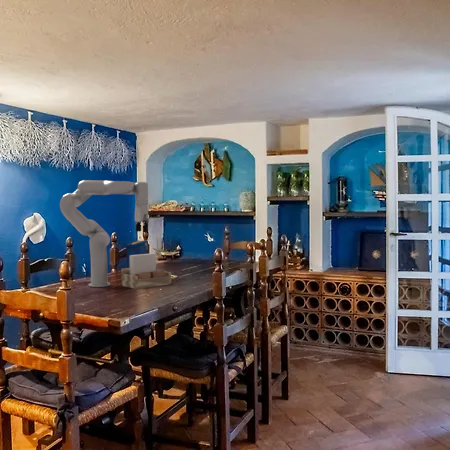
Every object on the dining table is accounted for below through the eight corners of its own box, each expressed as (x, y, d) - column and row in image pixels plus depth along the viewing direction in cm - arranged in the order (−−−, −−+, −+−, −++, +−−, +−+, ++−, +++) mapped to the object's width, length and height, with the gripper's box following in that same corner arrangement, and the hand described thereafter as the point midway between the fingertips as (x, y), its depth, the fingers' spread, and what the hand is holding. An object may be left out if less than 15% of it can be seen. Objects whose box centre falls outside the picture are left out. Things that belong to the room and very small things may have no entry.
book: (136, 283, 302) (135, 242, 301) (125, 283, 304) (124, 242, 302) (148, 277, 323) (148, 239, 322) (138, 277, 325) (138, 239, 324)
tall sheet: (129, 285, 295) (129, 255, 295) (152, 282, 306) (152, 253, 305) (133, 286, 292) (133, 255, 292) (156, 283, 303) (155, 253, 302)
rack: (121, 285, 295) (121, 268, 294) (155, 280, 311) (155, 265, 310) (136, 288, 282) (135, 271, 282) (171, 284, 298) (170, 267, 298)
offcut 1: (135, 287, 289) (135, 273, 289) (146, 285, 294) (146, 272, 294) (138, 287, 286) (138, 274, 286) (150, 286, 291) (150, 272, 291)
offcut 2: (149, 285, 296) (149, 271, 295) (160, 283, 301) (160, 270, 301) (153, 285, 293) (153, 272, 292) (164, 284, 298) (164, 271, 298)
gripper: (130, 202, 298) (130, 231, 298) (141, 203, 283) (142, 232, 284) (141, 202, 302) (141, 230, 303) (153, 202, 287) (154, 232, 288)
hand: (142, 231), depth 293 cm, fingers open, 9 cm apart
